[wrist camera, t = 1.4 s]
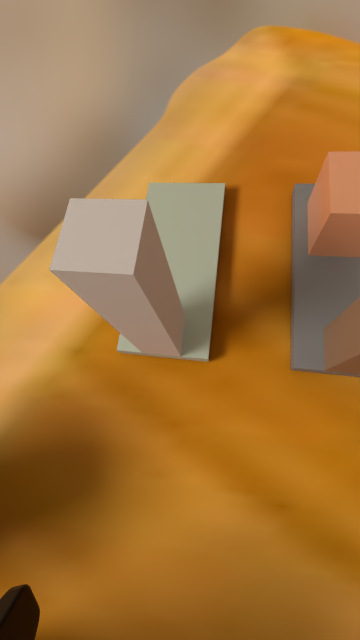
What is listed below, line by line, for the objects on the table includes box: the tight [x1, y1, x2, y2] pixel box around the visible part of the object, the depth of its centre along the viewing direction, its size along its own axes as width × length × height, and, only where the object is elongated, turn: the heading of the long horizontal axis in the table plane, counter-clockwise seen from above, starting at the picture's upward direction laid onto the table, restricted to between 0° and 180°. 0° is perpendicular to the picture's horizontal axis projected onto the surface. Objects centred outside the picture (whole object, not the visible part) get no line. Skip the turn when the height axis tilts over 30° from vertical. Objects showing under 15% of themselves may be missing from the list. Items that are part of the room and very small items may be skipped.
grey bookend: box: [49, 183, 225, 362], centre depth 19 cm, size 16×7×14 cm, turn 173°
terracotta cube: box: [308, 152, 360, 257], centre depth 21 cm, size 5×5×5 cm
